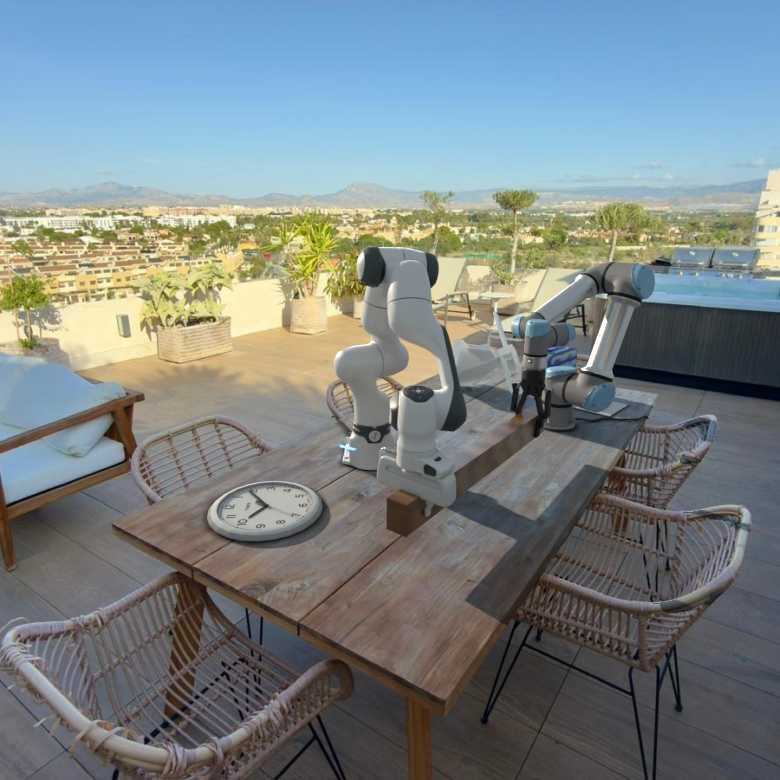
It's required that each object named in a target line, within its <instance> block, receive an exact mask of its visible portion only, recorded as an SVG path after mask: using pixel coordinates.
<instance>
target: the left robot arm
mask: <svg viewBox="0 0 780 780" xmlns="http://www.w3.org/2000/svg"><path fill="white" fill-rule="evenodd" d="M356 273H357V274H356V275H357V278H358V281H359V282H360V283H361V285H364V286H365V292H364V296H363V303H362V307H361V308H362V309H361V316H360V324H361V327H362V328H363V330H364V331H365V332H366V333H368V334H369V335H370V341H369V343H365V344H358V345H352V346H349V347H346V348H343V349H341V350H339V351H337V353H336V354H335V356H334V359H333V370H334V373H335V375H336V377H337V378H338V379H339V380H340V381H341V382H343V383H344V384H345V385H347V387H348V388H349V389H350V392H351V394H352V400H353V412H354V413H353V414H354V417H353V418H354V419H353V421H352V431H349V429H348V427H347V426H346V425H345V424H344V423H343V422H342V421H341V420H340V418H338V416H337V415H336V414H332V416H331V418H332V419H333V418H334V419H335V420H336V421H337V422H338V423H339V425H341V427H342V428H343V429H344V430H345V432H346V433H347V435H348V436H346V437H345V445H343V444H339V448H342V449H344V453H343V457H342V464H344V465H347V466H351V467H353V468H357V469H360V470H365V471H376V480H377V481H378V483H379V484H381V485H384V486H386V487H388V488H391V489H393V493H395V492H397V491H398V490H400V489H401V490H403V491H406V492H409V493H412V494H414V495H417V496H420V499H423V500H425V501H426V504H427V505H428V506H425V507H424V508H422V515H424V516H426V517H428V516H429V515H430V514H431V508H432V507H433V505H434V504H436V505H439V506H441V507H444V509H446V508H448V507H450V506H451V505H452V504H454V503H455V501H456V500H457V499H456V478H455V475H454V473H453V472H452V470H453V469H454V468H455V462H454V461H453V460H452V459H450V457H449V456H447V455H446V454H444V453H443V452H442V451H441V450H440V449H438V448H437V442H436V438H435V436H436V432H437V431H439V432H450V433H451V432H452V433H454V432H455V431H457V430H458V429H460V428H461V427H462V426H463V425H464V424H465V423H466V421H467V416H468V409H467V408H468V407H467V404H466V401H465V400H466V399H465V396H464V393H463V390H462V387H461V383H460V382H459V378H458V373H457V369H456V364H455V359H454V355H453V351H452V348H453V345H452V342H451V339H450V335H449V333H448V330H447V328H446V326H445V325H443V324H441V323H440V322H439V321H438V319H437V317H436V316H435V313H434V310H433V298H432V288H433V287H434V286H435V285H436V284H437V281H438V278H439V273H440V264H439V260H438V258H437V256H436V255H435V254H434V253H432V252H429V251H427V250H417V249H413V248H408V247H402V246H401V247H394V246H393V247H391V246H381V247H379V246H377V245H372V246H365V247H364V248H363V249H362V250H361V251H360V253H359V255H358V258H357V261H356ZM400 339H401V340H403V341H405V342H407V343H410V344H412V345H415V346H418V347H420V348H422V349H425V350H426V351H428V352H429V353H431V354H432V356H433V357H434V359H435V362H436V365H437V371H438V375H439V379H440V384H441V388H440V389H433V388H431V387H429V386H427V385H424V384H410V385H407V386H405V387H403V389H401V390H397V391H396V392H395V393H394V394H393V395H392V396H391V397H389V395H388V394H387V393H386V392H385V391H384V390H381V389H379V388H378V384H377V380H378V379H381V378H385V377H390V376H394V375H397V374H399V373H400V372H402V371H405V369H406V368H407V367H408V365H409V360H410V356H409V351H408V349H407V347H406V346H405V344H404V343H402V341H401V340H400ZM391 427H392V428H393V429H394V430H395V431H396V432H398V438H397V442H396V437H395V436H394V434H393V433H391Z"/></svg>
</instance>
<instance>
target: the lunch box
mask: <svg viewBox="0 0 780 780" xmlns="http://www.w3.org/2000/svg"><path fill="white" fill-rule="evenodd" d="M577 359H578V351H577V348H575V347H567V346H560V347H553V348H548V356H547V367H546V368H545V370H546V369H547V368H549V367H555V366H570V367H575V368H577ZM541 394H542V392H541Z"/></svg>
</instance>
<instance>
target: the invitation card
mask: <svg viewBox="0 0 780 780" xmlns="http://www.w3.org/2000/svg"><path fill="white" fill-rule="evenodd" d="M628 406H629V404H627V403H623V402H618V401H614V400H613V401H612V403H611V404H610V406H609V407H608V408H607V409H605V410H604V411H601V412H593V411H588V410H585V409H583V408H580V407H577V406H574V407H573V409H575V410H581V411H584V412H587V413H593V414H596V415H600V416H604V417H607V418H610V417H612V416H613V415H614V414H616V413H617V412H619V411H621V410H623V409H624V408H626V407H628Z"/></svg>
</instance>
